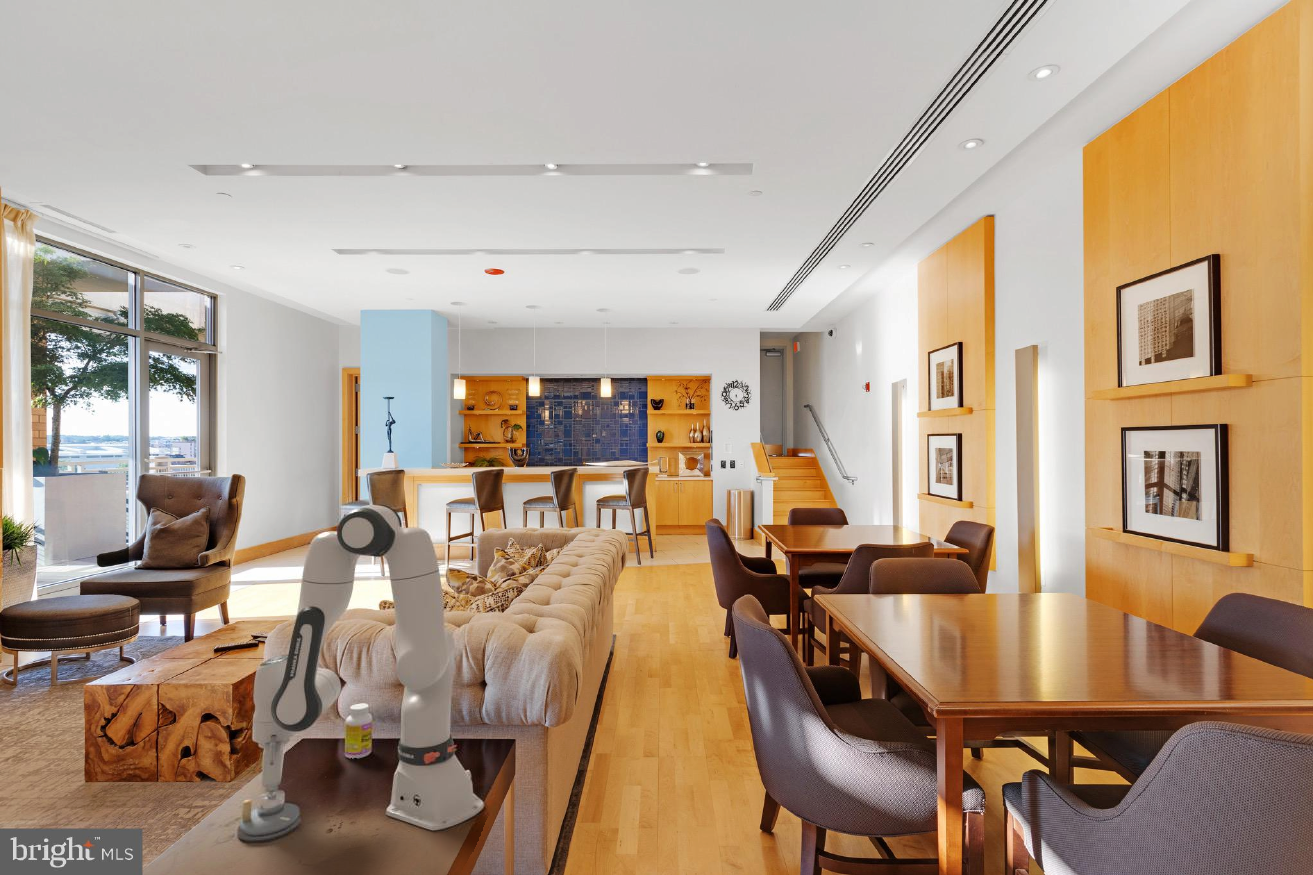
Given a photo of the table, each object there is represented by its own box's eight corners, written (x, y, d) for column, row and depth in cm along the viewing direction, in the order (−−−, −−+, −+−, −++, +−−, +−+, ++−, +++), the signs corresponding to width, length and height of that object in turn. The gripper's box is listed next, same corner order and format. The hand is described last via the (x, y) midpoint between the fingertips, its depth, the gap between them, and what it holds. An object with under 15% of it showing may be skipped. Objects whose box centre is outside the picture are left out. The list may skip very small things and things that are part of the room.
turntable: (308, 819, 149) (309, 795, 149) (252, 841, 140) (253, 815, 141) (285, 803, 156) (286, 780, 156) (231, 823, 147) (231, 798, 148)
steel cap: (288, 809, 151) (289, 792, 151) (263, 819, 147) (263, 801, 147) (278, 802, 154) (278, 785, 154) (253, 811, 150) (253, 793, 150)
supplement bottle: (361, 760, 182) (362, 711, 182) (339, 758, 183) (340, 709, 183) (376, 750, 188) (377, 702, 189) (355, 748, 189) (356, 701, 190)
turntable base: (311, 825, 149) (311, 820, 149) (251, 849, 140) (251, 844, 140) (286, 807, 157) (286, 803, 157) (228, 829, 147) (228, 824, 147)
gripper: (288, 742, 150) (287, 806, 149) (291, 711, 168) (290, 769, 168) (255, 747, 147) (253, 813, 147) (262, 715, 165) (260, 774, 165)
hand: (273, 789), depth 157 cm, fingers closed
